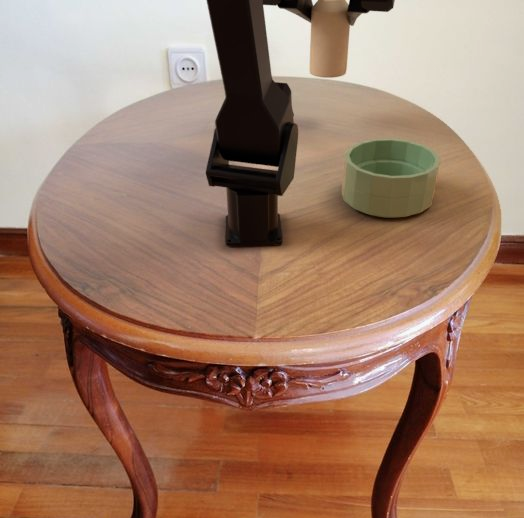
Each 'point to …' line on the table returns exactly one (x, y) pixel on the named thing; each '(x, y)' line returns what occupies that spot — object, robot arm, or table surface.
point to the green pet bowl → (389, 177)
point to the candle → (329, 38)
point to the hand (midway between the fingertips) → (333, 21)
